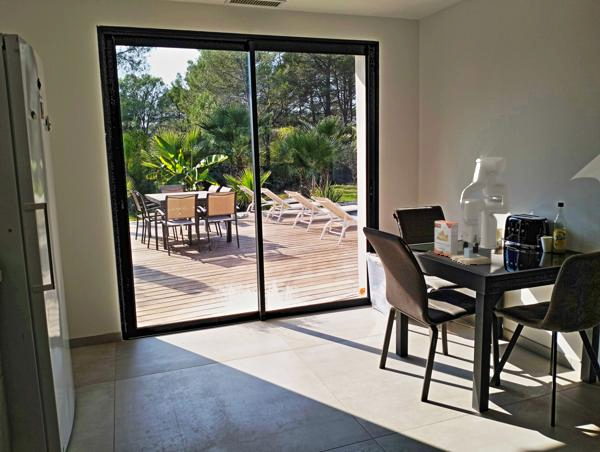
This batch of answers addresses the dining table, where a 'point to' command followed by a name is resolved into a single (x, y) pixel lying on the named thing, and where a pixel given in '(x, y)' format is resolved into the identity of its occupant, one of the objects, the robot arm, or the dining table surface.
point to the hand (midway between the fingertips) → (470, 251)
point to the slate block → (469, 253)
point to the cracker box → (446, 238)
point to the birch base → (470, 259)
